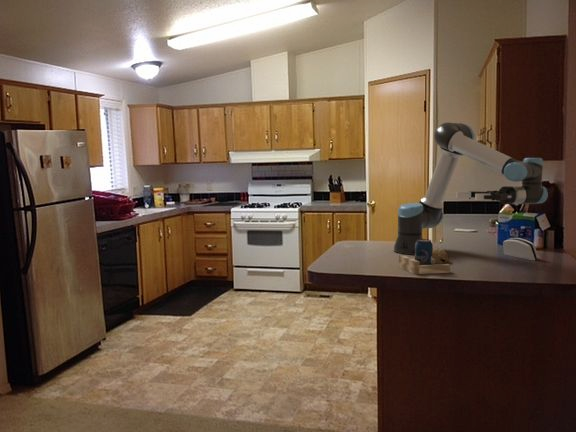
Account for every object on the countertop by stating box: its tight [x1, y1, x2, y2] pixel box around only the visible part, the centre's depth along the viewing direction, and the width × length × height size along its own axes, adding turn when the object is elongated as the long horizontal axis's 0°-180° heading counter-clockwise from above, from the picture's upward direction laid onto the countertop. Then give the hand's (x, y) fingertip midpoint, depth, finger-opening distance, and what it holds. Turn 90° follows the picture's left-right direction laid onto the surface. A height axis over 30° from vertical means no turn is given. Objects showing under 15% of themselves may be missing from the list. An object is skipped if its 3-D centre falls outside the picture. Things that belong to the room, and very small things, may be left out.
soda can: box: [414, 238, 434, 265], centre depth 204 cm, size 7×7×12 cm
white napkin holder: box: [502, 237, 542, 261], centre depth 231 cm, size 17×5×10 cm, turn 24°
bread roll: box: [432, 247, 449, 264], centre depth 221 cm, size 10×10×8 cm
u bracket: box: [398, 254, 451, 275], centre depth 204 cm, size 14×16×5 cm
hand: (465, 196), depth 205 cm, fingers open, 13 cm apart
